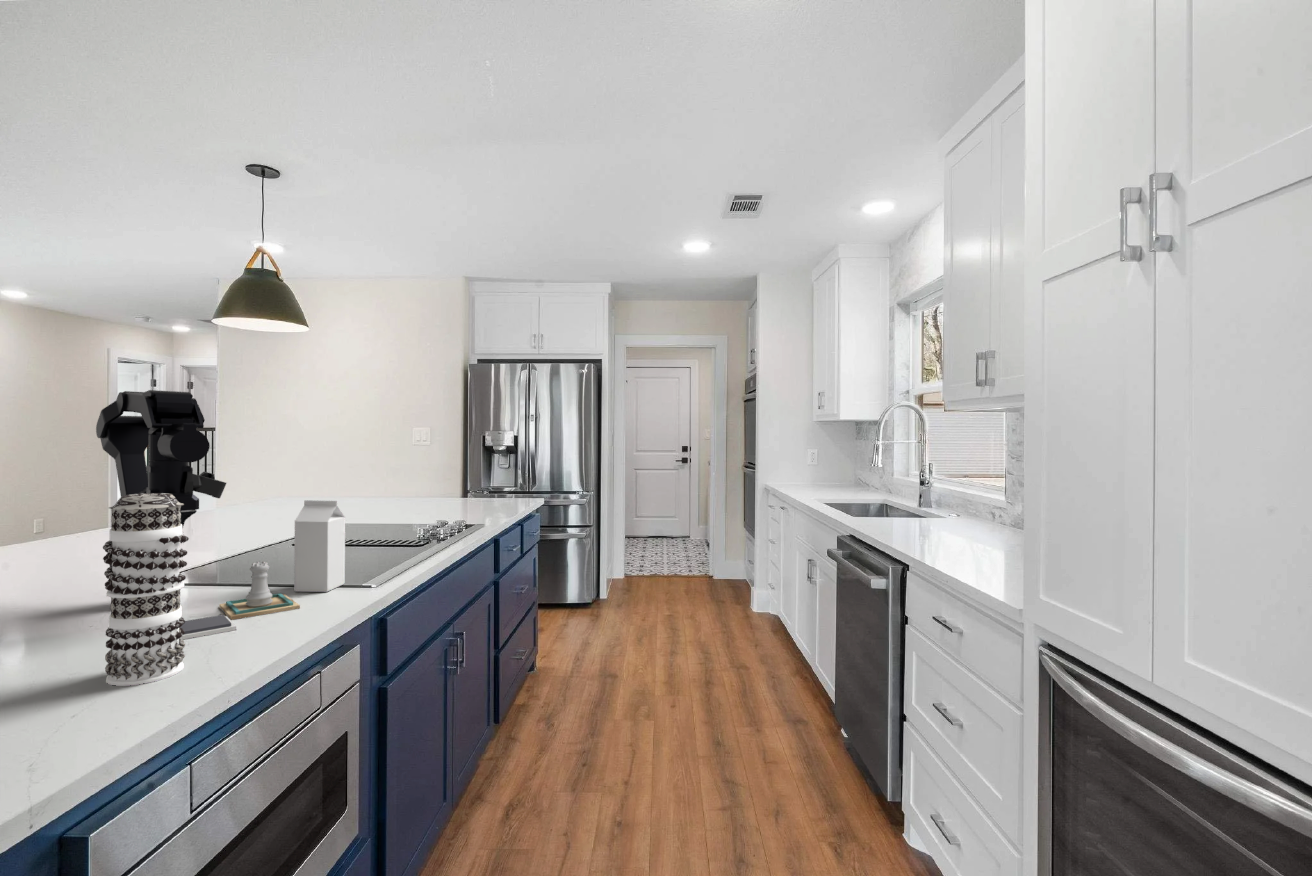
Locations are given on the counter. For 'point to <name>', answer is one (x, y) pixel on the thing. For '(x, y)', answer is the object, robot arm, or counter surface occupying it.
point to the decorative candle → (144, 589)
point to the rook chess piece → (259, 586)
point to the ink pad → (207, 626)
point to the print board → (241, 610)
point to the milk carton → (319, 547)
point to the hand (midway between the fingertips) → (168, 545)
